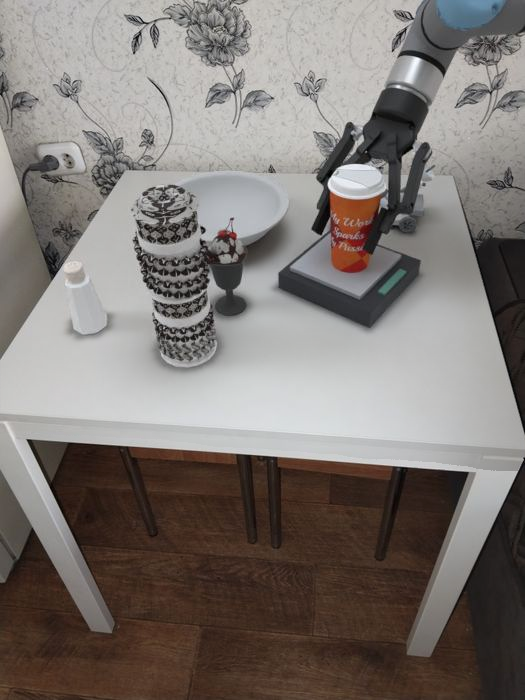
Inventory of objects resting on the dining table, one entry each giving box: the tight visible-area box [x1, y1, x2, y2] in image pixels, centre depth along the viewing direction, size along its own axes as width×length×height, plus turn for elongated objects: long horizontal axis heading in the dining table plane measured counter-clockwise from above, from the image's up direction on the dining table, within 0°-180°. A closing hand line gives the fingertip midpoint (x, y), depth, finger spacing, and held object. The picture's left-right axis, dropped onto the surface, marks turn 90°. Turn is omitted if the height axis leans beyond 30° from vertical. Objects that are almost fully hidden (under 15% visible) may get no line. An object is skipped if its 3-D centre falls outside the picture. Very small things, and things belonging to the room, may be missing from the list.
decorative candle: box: [130, 183, 218, 368], centre depth 78 cm, size 9×9×25 cm
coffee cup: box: [328, 164, 387, 273], centre depth 89 cm, size 8×8×15 cm
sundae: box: [206, 218, 249, 316], centre depth 88 cm, size 7×7×15 cm
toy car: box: [378, 163, 436, 234], centre depth 108 cm, size 18×10×12 cm
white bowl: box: [171, 169, 290, 248], centre depth 106 cm, size 24×24×7 cm
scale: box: [277, 228, 422, 328], centre depth 96 cm, size 17×16×4 cm
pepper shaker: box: [62, 260, 108, 336], centre depth 88 cm, size 5×5×11 cm
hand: (341, 241), depth 89 cm, fingers closed on coffee cup, 8 cm apart
